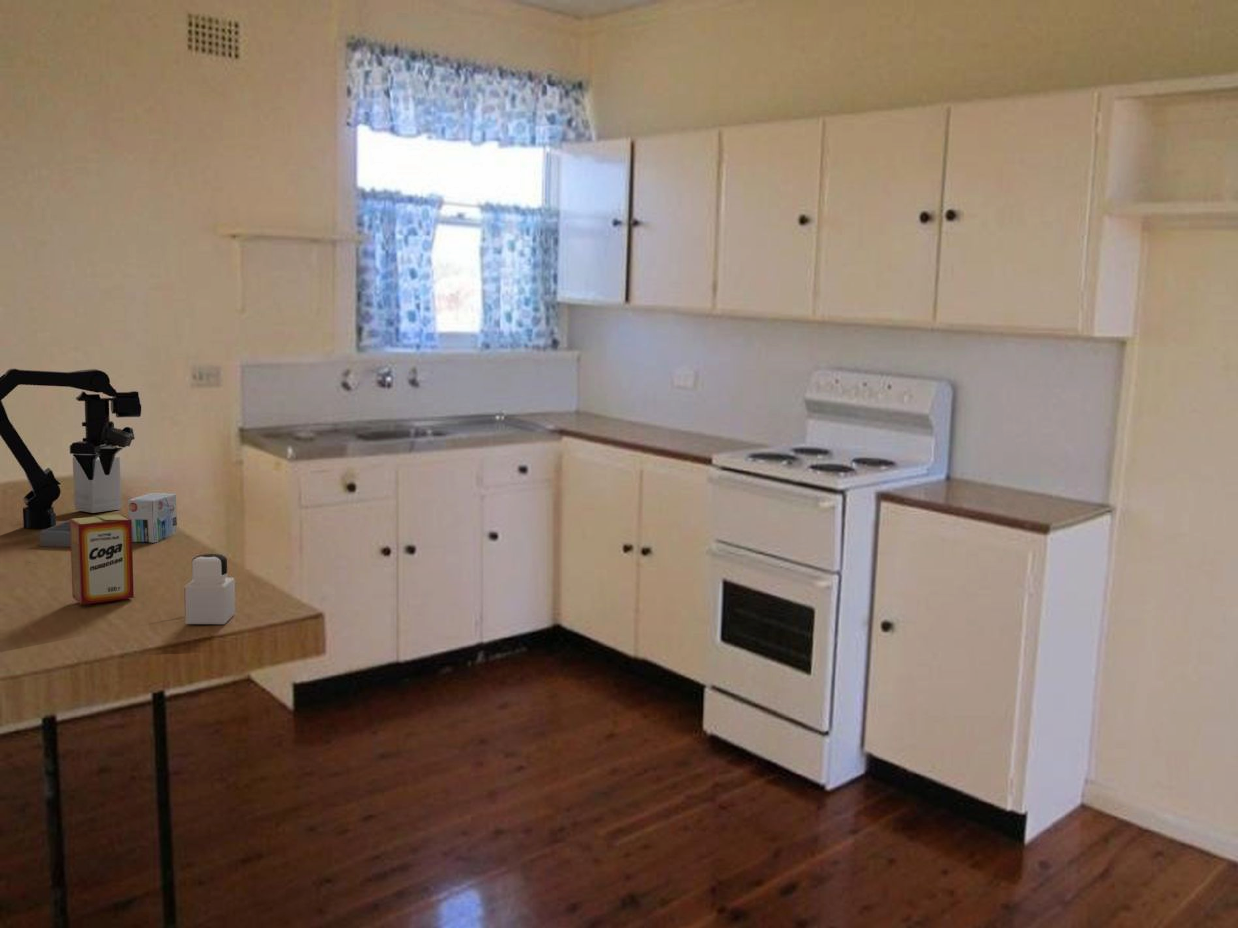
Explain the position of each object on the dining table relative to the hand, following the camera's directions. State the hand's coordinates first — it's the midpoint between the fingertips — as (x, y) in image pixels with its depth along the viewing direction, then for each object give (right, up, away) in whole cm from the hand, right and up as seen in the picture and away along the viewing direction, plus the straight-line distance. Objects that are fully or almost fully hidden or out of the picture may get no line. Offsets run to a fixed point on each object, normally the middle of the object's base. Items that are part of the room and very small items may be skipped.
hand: (99, 477), depth 282 cm
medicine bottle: (+60, -25, -82) cm, 105 cm away
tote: (+7, -15, -20) cm, 26 cm away
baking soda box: (+35, -23, -70) cm, 81 cm away
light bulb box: (+22, -9, -11) cm, 26 cm away
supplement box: (-10, -9, +19) cm, 23 cm away
